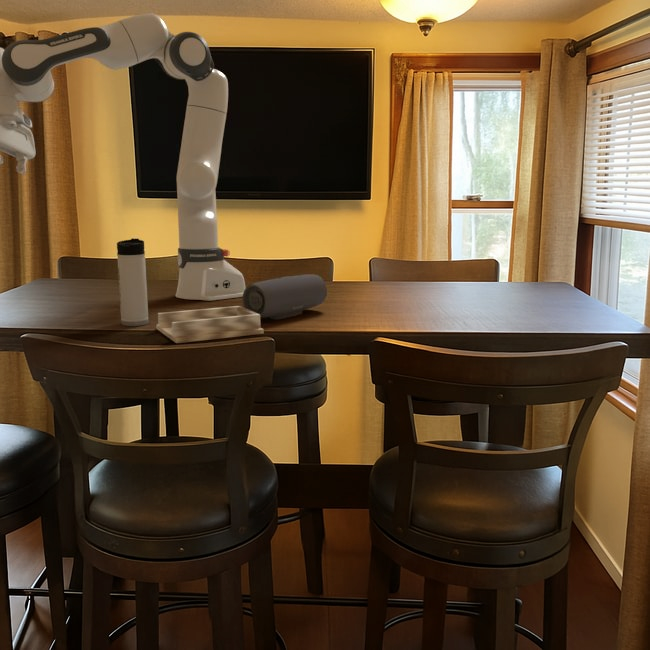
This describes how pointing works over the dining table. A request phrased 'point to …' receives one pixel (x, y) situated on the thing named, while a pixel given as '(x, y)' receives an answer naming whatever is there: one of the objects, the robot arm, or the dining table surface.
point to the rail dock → (209, 324)
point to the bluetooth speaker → (284, 296)
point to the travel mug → (132, 282)
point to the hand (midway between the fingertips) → (10, 168)
